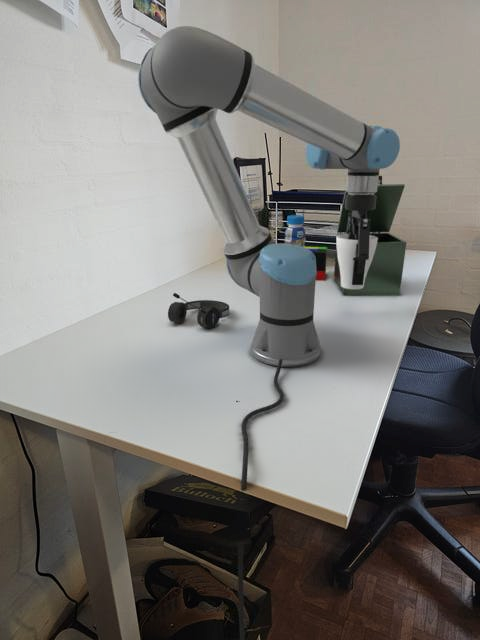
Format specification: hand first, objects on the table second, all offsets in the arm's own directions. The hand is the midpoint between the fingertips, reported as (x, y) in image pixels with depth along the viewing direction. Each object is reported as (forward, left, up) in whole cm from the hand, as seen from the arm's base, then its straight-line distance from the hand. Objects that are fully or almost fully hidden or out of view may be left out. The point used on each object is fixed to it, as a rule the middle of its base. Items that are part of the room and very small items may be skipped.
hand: (352, 279), depth 109 cm
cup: (0, 0, -2) cm, 2 cm away
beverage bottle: (+57, +11, -10) cm, 59 cm away
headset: (-5, +42, -10) cm, 43 cm away
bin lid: (+29, -10, +15) cm, 34 cm away
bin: (+25, -10, -10) cm, 29 cm away
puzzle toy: (+40, +6, -10) cm, 42 cm away
